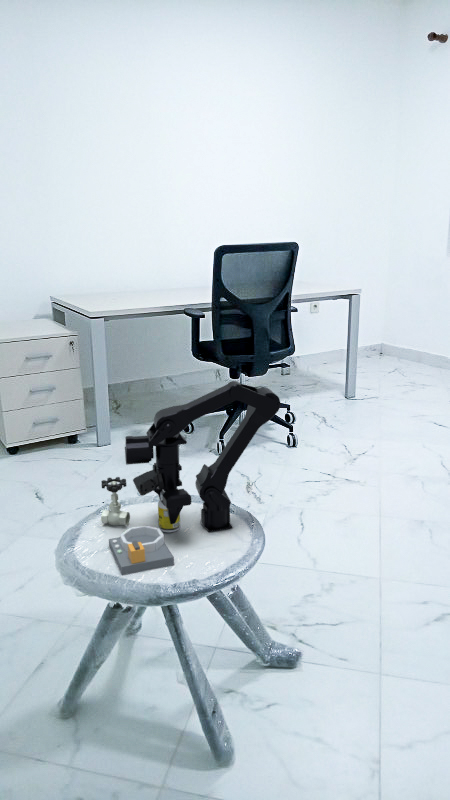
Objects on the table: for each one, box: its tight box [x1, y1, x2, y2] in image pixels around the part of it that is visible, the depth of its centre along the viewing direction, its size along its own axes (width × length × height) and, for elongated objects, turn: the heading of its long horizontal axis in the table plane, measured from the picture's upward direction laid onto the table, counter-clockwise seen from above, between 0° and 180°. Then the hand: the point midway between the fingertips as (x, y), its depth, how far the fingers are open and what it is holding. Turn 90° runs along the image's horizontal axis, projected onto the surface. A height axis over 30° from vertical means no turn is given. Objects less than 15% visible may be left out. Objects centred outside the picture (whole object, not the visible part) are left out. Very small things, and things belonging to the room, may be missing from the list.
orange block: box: [128, 541, 145, 564], centre depth 141 cm, size 3×4×4 cm
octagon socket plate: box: [108, 525, 175, 576], centre depth 147 cm, size 12×14×4 cm
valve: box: [100, 476, 131, 527], centre depth 161 cm, size 7×7×12 cm
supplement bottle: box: [157, 491, 181, 533], centre depth 158 cm, size 5×5×10 cm
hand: (169, 518), depth 159 cm, fingers closed on supplement bottle, 5 cm apart
